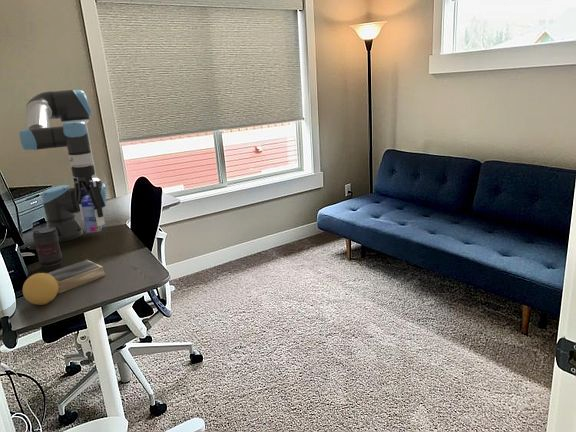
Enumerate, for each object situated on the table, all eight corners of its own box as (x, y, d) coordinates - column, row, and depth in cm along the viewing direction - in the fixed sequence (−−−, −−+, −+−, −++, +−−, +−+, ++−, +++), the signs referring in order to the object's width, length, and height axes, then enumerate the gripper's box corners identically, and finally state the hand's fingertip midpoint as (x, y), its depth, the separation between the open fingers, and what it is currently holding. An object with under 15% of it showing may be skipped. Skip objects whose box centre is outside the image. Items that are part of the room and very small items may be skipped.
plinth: (44, 284, 154) (42, 273, 153) (88, 268, 165) (86, 258, 164) (59, 293, 146) (57, 282, 145) (104, 275, 158) (102, 265, 157)
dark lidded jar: (48, 272, 164) (39, 234, 160) (36, 268, 169) (27, 231, 164) (68, 264, 171) (60, 227, 167) (56, 260, 175) (48, 225, 171)
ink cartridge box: (102, 231, 164) (95, 194, 159) (86, 234, 162) (78, 196, 158) (103, 223, 173) (96, 188, 168) (87, 226, 171) (80, 190, 166)
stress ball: (49, 312, 136) (69, 283, 140) (20, 297, 130) (41, 268, 134) (40, 307, 143) (59, 280, 147) (11, 293, 137) (32, 265, 141)
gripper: (57, 164, 164) (69, 219, 171) (87, 170, 150) (99, 230, 157) (77, 160, 170) (88, 214, 177) (108, 166, 155) (118, 224, 162)
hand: (93, 222), depth 167 cm, fingers closed on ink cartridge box, 11 cm apart
